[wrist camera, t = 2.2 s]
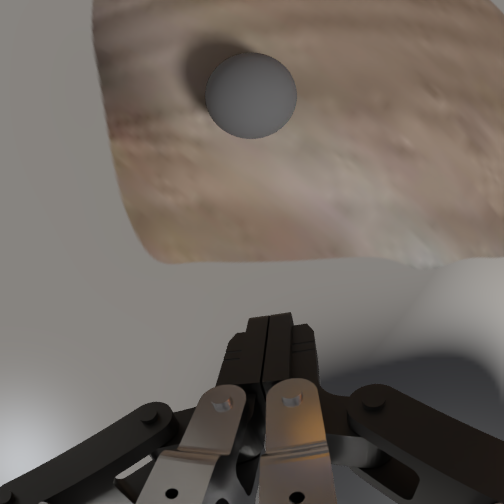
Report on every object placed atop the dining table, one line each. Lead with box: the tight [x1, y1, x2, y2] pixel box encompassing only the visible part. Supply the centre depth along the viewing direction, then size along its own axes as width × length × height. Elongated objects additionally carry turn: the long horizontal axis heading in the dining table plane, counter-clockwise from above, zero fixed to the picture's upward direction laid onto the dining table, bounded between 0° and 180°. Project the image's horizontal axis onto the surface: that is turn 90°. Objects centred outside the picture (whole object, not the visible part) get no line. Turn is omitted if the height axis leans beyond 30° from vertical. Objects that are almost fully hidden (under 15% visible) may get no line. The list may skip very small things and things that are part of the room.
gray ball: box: [205, 53, 297, 139], centre depth 19 cm, size 6×6×6 cm
